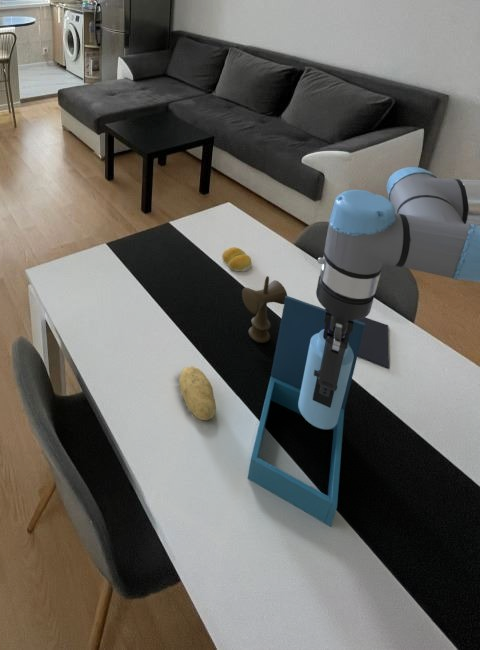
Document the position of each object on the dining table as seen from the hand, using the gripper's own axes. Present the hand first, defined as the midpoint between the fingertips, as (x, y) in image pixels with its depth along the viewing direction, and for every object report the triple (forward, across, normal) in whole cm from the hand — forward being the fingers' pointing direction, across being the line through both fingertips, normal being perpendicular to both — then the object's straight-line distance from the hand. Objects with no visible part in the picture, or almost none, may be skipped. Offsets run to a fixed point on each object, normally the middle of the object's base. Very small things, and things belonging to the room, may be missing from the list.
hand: (323, 384), depth 75 cm
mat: (+23, -39, +7) cm, 45 cm away
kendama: (+23, -26, -14) cm, 37 cm away
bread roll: (+23, -51, -26) cm, 61 cm away
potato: (+22, -1, -22) cm, 32 cm away
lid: (+4, -11, -2) cm, 12 cm away
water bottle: (+7, 0, 0) cm, 7 cm away
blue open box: (+23, 0, -2) cm, 23 cm away
